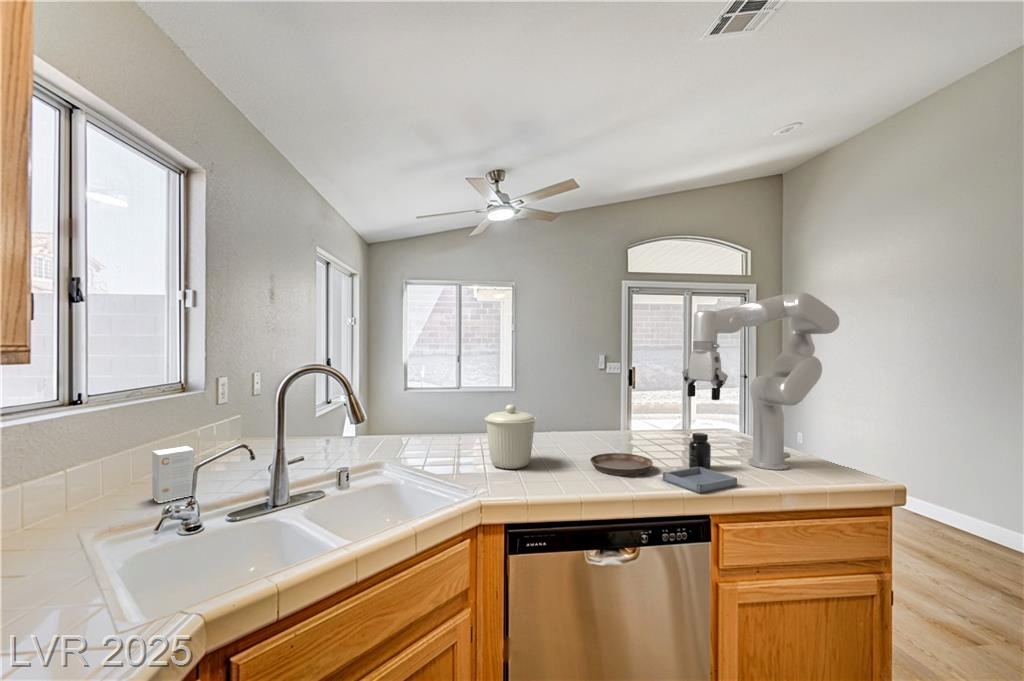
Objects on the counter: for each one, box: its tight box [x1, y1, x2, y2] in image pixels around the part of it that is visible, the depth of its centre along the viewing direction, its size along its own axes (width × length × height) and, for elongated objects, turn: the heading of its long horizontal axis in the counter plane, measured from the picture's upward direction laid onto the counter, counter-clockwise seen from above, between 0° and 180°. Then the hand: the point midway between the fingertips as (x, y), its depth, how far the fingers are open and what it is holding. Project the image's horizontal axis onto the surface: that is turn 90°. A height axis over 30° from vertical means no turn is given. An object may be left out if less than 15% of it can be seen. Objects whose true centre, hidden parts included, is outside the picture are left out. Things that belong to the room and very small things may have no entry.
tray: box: [662, 467, 738, 495], centre depth 139 cm, size 16×14×2 cm
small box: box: [151, 445, 195, 501], centre depth 123 cm, size 8×6×13 cm
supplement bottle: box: [688, 432, 712, 470], centre depth 155 cm, size 7×7×12 cm
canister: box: [484, 404, 538, 470], centre depth 158 cm, size 18×18×21 cm
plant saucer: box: [589, 452, 654, 476], centre depth 155 cm, size 21×21×3 cm
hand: (703, 398), depth 153 cm, fingers open, 9 cm apart
